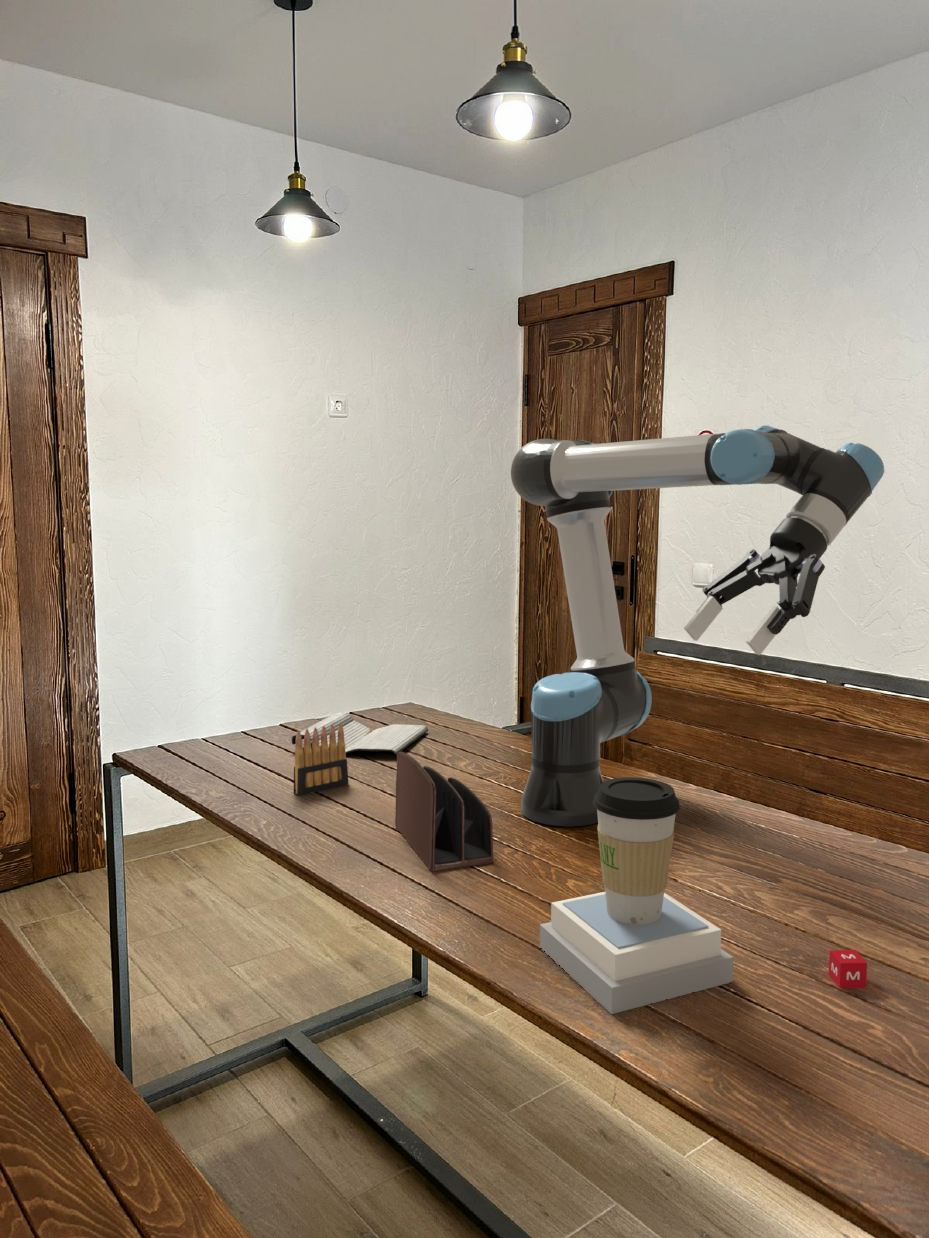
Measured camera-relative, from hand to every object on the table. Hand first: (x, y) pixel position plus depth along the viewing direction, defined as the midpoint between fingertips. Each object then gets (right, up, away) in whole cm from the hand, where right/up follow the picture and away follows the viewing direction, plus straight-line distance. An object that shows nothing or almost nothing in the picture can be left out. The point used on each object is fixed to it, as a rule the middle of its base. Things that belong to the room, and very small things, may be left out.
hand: (719, 641), depth 133 cm
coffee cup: (-17, -31, -24) cm, 43 cm away
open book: (-59, -25, +74) cm, 98 cm away
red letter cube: (+7, -38, -27) cm, 47 cm away
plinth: (-17, -37, -23) cm, 47 cm away
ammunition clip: (-63, -29, +42) cm, 81 cm away
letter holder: (-40, -33, +15) cm, 54 cm away
